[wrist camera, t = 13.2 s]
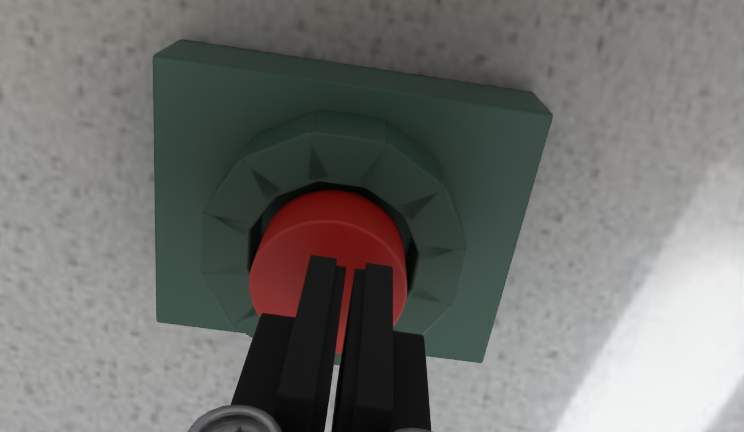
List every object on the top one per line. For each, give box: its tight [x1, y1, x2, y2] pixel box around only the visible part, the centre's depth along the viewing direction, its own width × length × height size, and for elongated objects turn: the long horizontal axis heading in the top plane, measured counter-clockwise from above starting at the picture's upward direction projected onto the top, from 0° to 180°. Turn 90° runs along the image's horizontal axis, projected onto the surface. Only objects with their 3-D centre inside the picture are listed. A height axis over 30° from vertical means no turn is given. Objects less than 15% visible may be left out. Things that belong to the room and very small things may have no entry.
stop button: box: [249, 190, 407, 354], centre depth 14 cm, size 4×4×2 cm
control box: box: [153, 40, 553, 365], centre depth 17 cm, size 10×8×4 cm
